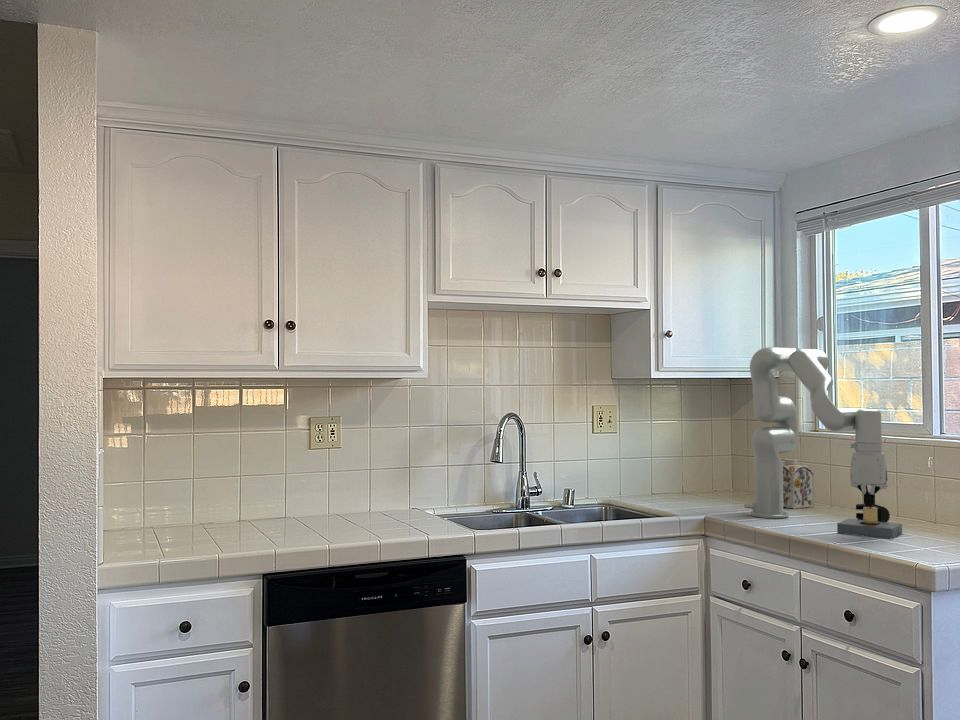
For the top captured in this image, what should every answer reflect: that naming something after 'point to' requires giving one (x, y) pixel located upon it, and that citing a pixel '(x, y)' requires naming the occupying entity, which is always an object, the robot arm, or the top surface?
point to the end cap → (882, 513)
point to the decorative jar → (797, 485)
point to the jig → (869, 528)
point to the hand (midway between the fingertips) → (869, 506)
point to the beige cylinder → (870, 515)
